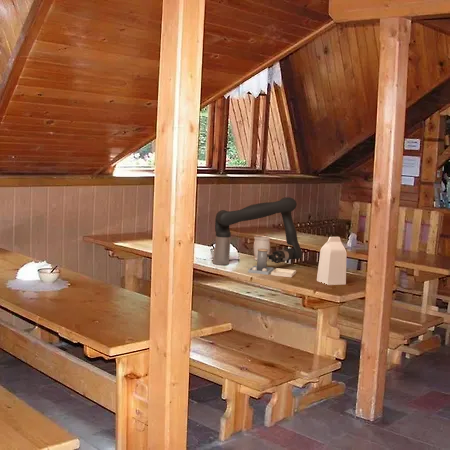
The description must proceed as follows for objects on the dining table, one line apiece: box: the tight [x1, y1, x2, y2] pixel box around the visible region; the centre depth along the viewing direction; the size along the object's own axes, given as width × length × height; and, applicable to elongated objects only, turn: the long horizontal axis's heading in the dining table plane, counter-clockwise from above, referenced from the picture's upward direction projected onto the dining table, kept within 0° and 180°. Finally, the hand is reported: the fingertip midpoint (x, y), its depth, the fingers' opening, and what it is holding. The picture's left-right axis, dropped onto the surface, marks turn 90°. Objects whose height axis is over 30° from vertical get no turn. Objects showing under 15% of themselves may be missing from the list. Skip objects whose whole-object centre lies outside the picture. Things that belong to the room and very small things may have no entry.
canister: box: [256, 249, 268, 271], centre depth 394 cm, size 6×6×13 cm
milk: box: [316, 236, 348, 286], centre depth 375 cm, size 12×12×26 cm
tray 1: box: [248, 265, 275, 276], centre depth 394 cm, size 12×15×2 cm
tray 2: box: [270, 267, 297, 278], centre depth 390 cm, size 12×15×2 cm
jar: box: [253, 235, 271, 261], centre depth 437 cm, size 11×10×15 cm
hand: (266, 258), depth 398 cm, fingers open, 8 cm apart
